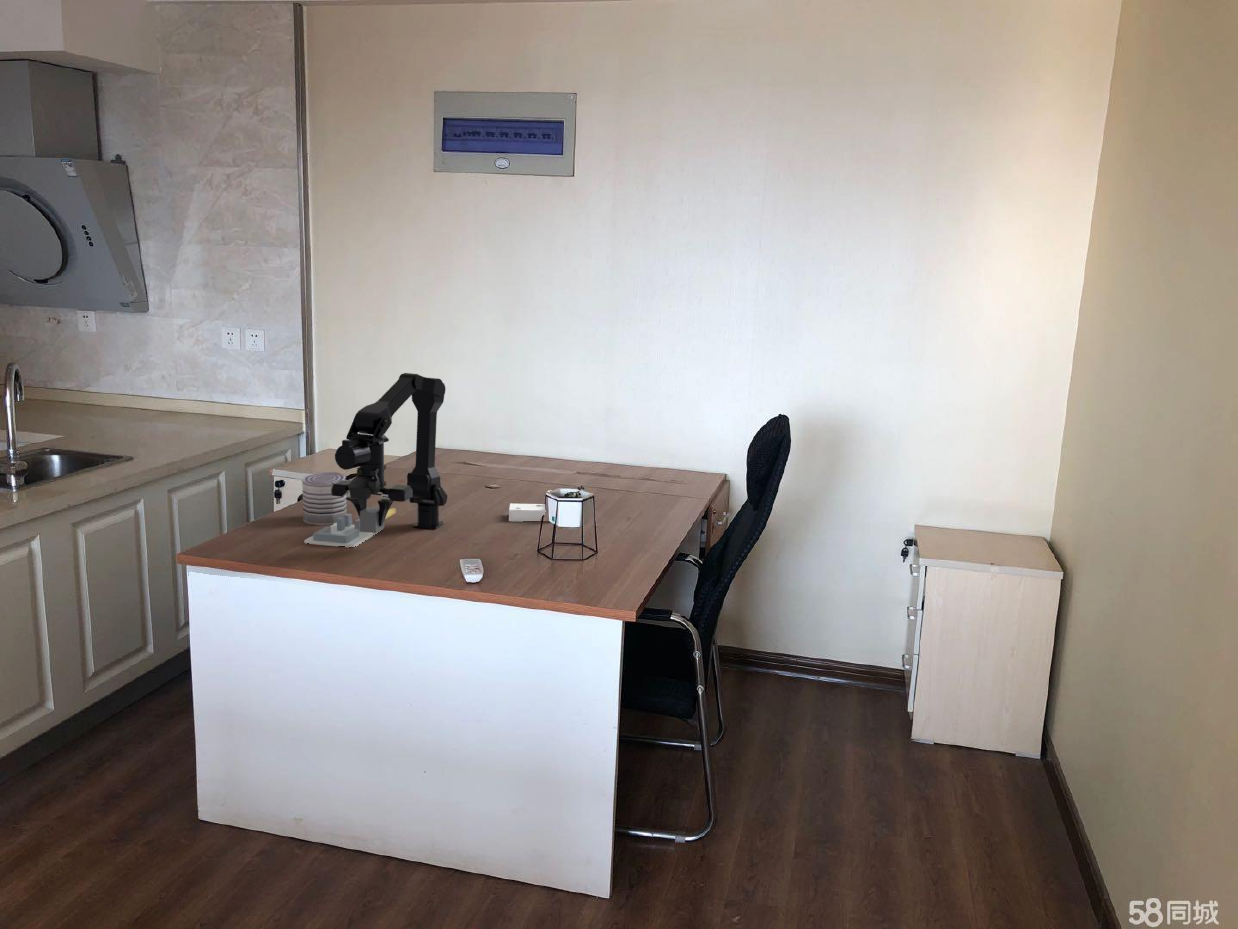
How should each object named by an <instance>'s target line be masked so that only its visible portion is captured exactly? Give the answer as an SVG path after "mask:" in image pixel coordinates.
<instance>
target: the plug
mask: <svg viewBox="0 0 1238 929" xmlns="http://www.w3.org/2000/svg"><path fill="white" fill-rule="evenodd" d="M396 513H397V509H396V508H394V507H392V508H391V507H390V508H389V510H388V513H387V515H386V518H385V520H387V519H388V518H391V516H393V515H395V514H396ZM359 519H360V532H371V533H377V532H378V531H380V530H381V529H382V530H383V529H384V528H385V522H384V523H383V525H382V526H379V507H377V506H367V508H365V509H364V510H362V511H360V517H359ZM377 534H378V533H377Z"/></svg>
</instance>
